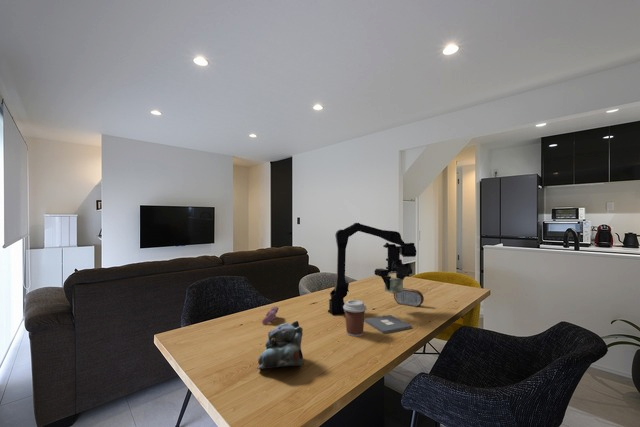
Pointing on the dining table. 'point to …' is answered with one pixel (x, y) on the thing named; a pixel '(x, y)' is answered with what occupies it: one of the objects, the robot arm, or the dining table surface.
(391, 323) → the gray board
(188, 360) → the dining table surface
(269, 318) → the pink frog figurine
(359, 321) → the coffee cup
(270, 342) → the lucky cat figurine
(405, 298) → the tin
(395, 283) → the sage block
